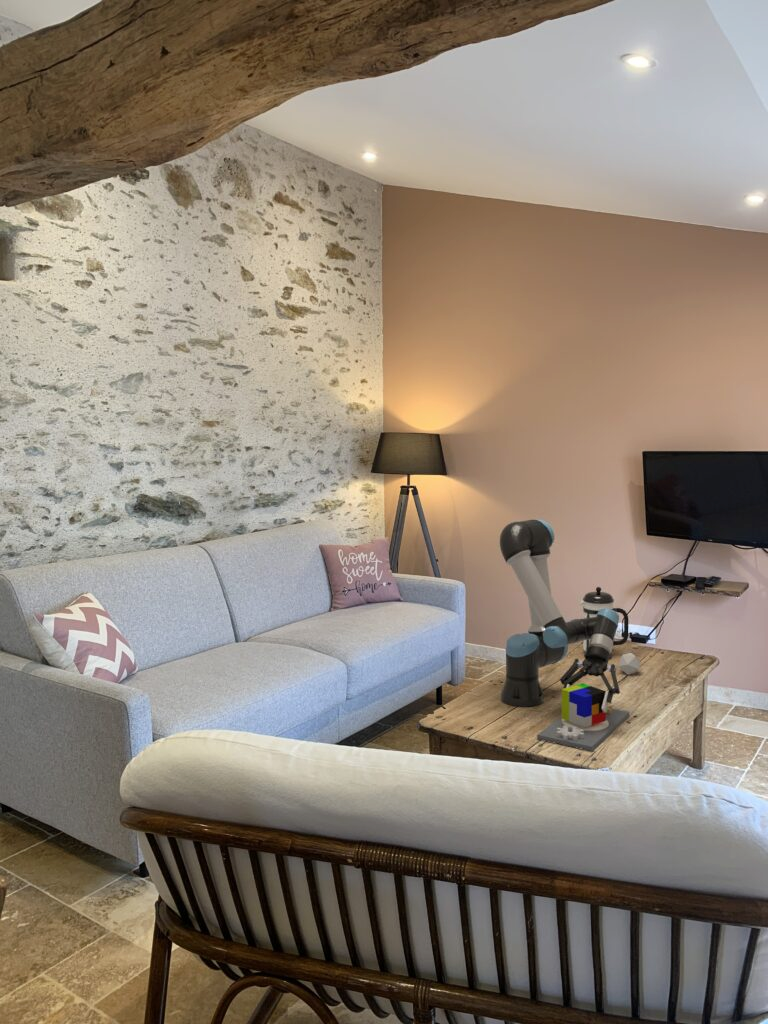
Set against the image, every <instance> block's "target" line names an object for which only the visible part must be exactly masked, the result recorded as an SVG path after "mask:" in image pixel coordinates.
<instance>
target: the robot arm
mask: <svg viewBox="0 0 768 1024" xmlns="http://www.w3.org/2000/svg"><path fill="white" fill-rule="evenodd" d="M554 542H555V532H554V530H553V528H552V527H551V525H550V524H549V523H548V522H547V521H545V520H543V519H526V520H520V521H513V522H510V523H507V524H506V525H505V526H504V528H503V529H502V530H501V533H500V536H499V547H500V552H501V554H502V557H503V559H504V561H505V563H506V565H508V566H511V568H512V570H513V572H514V573H515V575H516V577H517V579H518V582H519V583H520V585H521V587H522V589H523V590H524V593H525V595H526V596H527V600H528V607H529V614H530V621H531V625H530V627H529V628H528V629H527V632H524V633H516V634H514V635H511V636H510V637H508V639H507V640H506V645H505V681H504V683H503V686H502V688H501V692H500V700H501V701H502V702H503V703H504V704H506V705H508V706H509V705H510V706H513V707H514V706H515V707H522V708H523V707H534V706H538V705H541V704H542V703H543V702H544V694H543V690H542V687H541V684H540V681H539V669H540V668H544V667H546V666H547V667H548V666H549V665H555V664H557V663H559V662H560V661H563V659H565V657H566V656H567V654H568V652H569V651H568V649H569V645H572V644H575V643H579V642H583V640H588V639H590V643H589V648H588V650H587V653H586V652H585V653H586V657H584V660H580V659H578V658H575V659H574V661H573V664H572V665H571V666H570V667H569V668H568V670H566V672H565V673H564V674H563V675H562V676H561V677H560V679H559V681H560V683H561V685H562V686H563V688H562V689H564V688H568V687H571V686H572V685H574V684H575V683H576V682H578V681H579V680H580V679H582V678H583V677H586V676H590V677H591V676H594V677H599V676H600V678H601V679H602V682H603V683H604V685H605V686H606V689H607V690H605V691H606V693H605V697H604V700H603V704H602V708H601V709H602V711H603V712H604V713H606V709H607V706H609V705H608V704H611V703H612V700H613V698H614V697H613V696H614V695H615V694H617V695H619V694H620V693H621V691H620V687H619V683H618V679H617V675H616V674H617V673H616V672H617V667H616V665H615V664H614V663H612V664H611V665H610V664H608V663H609V660H610V659H609V656H610V654H611V653H612V651H611V649H612V650H613V646H614V645H613V641H615V636H616V633H617V631H618V630H617V629H618V627H619V623H620V622H619V620H620V616H619V614H618V612H615V611H614V610H611V609H608V608H603V609H601V610H599V611H598V614H597V616H596V617H591V618H584V617H583V618H574V619H570V620H568V621H567V622H566V620H565V619H564V617H563V615H562V613H561V611H560V609H559V608H558V605H557V603H556V602H555V600H554V598H553V596H552V590H551V582H550V574H549V573H550V572H549V565H548V558H549V556H550V555H551V550H550V549H551V547H552V545H553V544H554ZM612 645H613V646H612ZM610 652H611V653H610ZM581 666H582V667H581ZM579 668H580V669H579ZM578 669H579V670H578ZM607 670H608V671H609V672H610V675H611V680H612V684H613V687H612V686H611V684H610V682H609V680H608V678H607V677H606V675H605V672H606V671H607Z"/></svg>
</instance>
